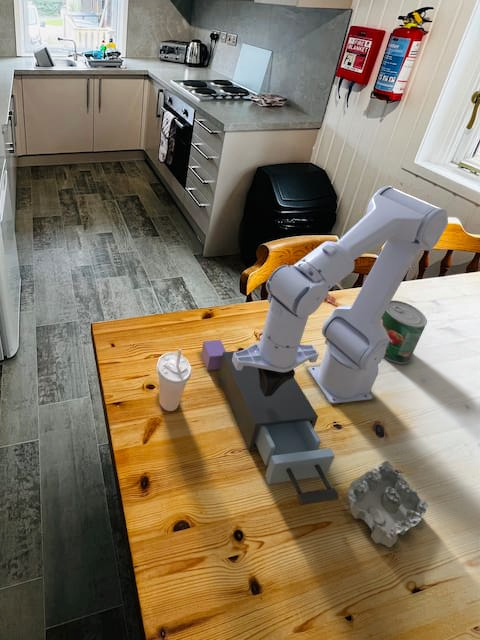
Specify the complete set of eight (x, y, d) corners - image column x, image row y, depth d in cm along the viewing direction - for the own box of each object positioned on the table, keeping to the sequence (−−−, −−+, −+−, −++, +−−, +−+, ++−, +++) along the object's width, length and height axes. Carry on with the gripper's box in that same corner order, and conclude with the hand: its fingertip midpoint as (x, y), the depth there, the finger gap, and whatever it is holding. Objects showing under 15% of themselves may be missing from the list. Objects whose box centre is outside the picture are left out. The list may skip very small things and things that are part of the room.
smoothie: (184, 421, 73) (194, 367, 68) (150, 413, 74) (157, 360, 69) (186, 390, 79) (195, 338, 74) (154, 383, 80) (161, 332, 75)
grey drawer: (345, 509, 61) (355, 489, 59) (283, 519, 60) (291, 499, 57) (284, 399, 78) (290, 380, 76) (234, 404, 76) (239, 385, 74)
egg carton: (382, 556, 57) (391, 540, 55) (337, 499, 63) (344, 483, 62) (427, 520, 61) (437, 505, 60) (381, 470, 67) (388, 455, 66)
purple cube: (218, 353, 88) (220, 339, 86) (224, 368, 84) (227, 355, 83) (200, 354, 87) (203, 341, 86) (207, 370, 84) (209, 356, 82)
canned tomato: (416, 354, 91) (433, 317, 86) (401, 369, 87) (418, 332, 82) (379, 330, 97) (394, 295, 92) (364, 344, 92) (378, 308, 88)
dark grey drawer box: (308, 442, 71) (318, 416, 68) (248, 450, 69) (255, 424, 66) (269, 371, 84) (275, 347, 82) (217, 376, 82) (222, 352, 80)
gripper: (307, 312, 69) (290, 367, 75) (230, 318, 67) (218, 375, 72) (333, 344, 63) (313, 402, 68) (249, 353, 60) (234, 412, 66)
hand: (265, 391), depth 70 cm, fingers closed
